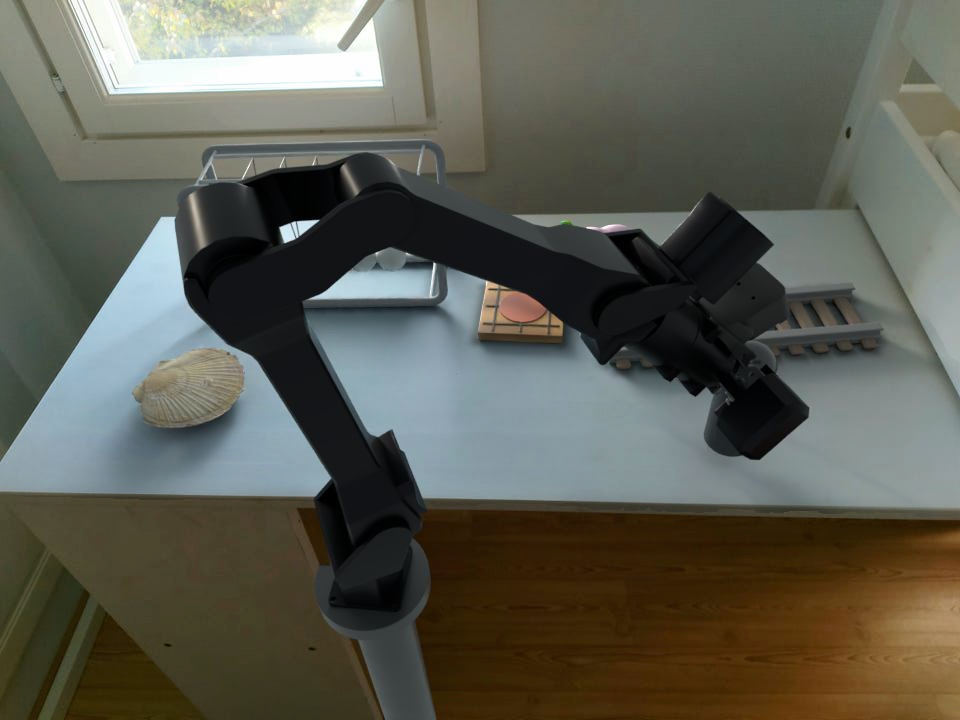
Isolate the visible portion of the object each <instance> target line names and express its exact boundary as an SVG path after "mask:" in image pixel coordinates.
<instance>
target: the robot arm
mask: <svg viewBox="0 0 960 720" xmlns="http://www.w3.org/2000/svg"><path fill="white" fill-rule="evenodd" d="M362 152H363V153H357V154H353V155H349V156H348V155H347V156H348V157H347V156H346V157H343V158H340V159H337V160H335V161H332V162H330V163H325V164H318V165H317V164H315V165H313V164H312V165H303V166H301V165H300V166H289V167H288V166H287V168H286V167H280V168H279V167H277V168H272V169H269V170H266V171H263V172H260V173H258V174H256V175H255V174H254V175H252V176H250V177H247V178H243V179H244V180H242V181H239V182H234V183H228V182H219V183H214V184H210V185H209V184H205V185H206V186H203V187H201V188H200V189H198V190H196V191H194V192H193V193H191V194H190V195H189V196H188V197H187V198H186V199H185V200H184V202H183V203H182V204H181V205H180V207H178V209H177V213H176V215H175V217H174V220H173V221H174V230H175V238H176V245H177V253H178V260H179V265H180V273H181V280H182V286H183V293H184V297H185V299H186V303H187V304H188V306H189V308H190V309H191V310H192V311H193V312H194V313H195V315H197V316H198V317H199V318H200V319H201V320H202V321H203V323H205V324H206V326H208V327H209V329H211V330H212V331H213V332H214V333H215V334H216V336H218V337H219V338H220V339H221V340H222V341H223V342H224V343H225V344H226V345H228V346H229V347H231V348H234V349H236V350H237V351H240V352H243V353H244V354H246V355H249V356H251V358H253V359H254V360H255V361H256V362H257V364H258V365H259V368H261V370H262V371H263V373H264V375H265V376H266V378H267V379H268V381H269V383H270V384H271V386H272V387H273V390H274V391H275V393H276V394H277V395H278V397H279V398H280V400H281V402H282V404H283V405H284V407H285V408H286V410H287V411H288V413H289V415H290V416H291V418H292V419H293V421H294V422H295V423H296V425H297V427H298V429H299V430H300V432H301V433H302V435H303V436H304V438H305V439H306V441H307V442H308V444H309V446H310V447H311V449H312V450H313V452H314V453H315V455H316V457H317V458H318V460H319V461H320V463H321V464H322V466H323V467H324V470H325V471H326V472H327V474H328V476H329V477H330V479H329V480H328V482H327V483H326V484H325V485H324V486H323V487H321V489H320V490H319V491H318V493H317V494H316V495H315V496H314V497H313V503H314V506H315V511H316V514H317V517H318V523H319V525H320V529H321V533H322V537H323V541H324V544H325V548H326V551H327V556H328V559H329V563H330V564H331V568H332V571H333V575H334V580H333V583H332V587H331V591H330V594H329V598H328V602H329V605H330V606H332V607H341V608H352V609H364V610H376V611H387V612H398V611H399V610H400V609H401V606H402V601H403V596H404V591H405V587H406V582H407V577H408V572H409V567H410V562H411V557H412V547H411V546H410V543H411V540H412V538H413V537H414V536H415V535H416V534H417V533H420V531H421V530H422V529H423V521H422V515H424V514H425V515H426V514H427V513H428V512H429V511H428V508H427V505H426V503H425V500H424V498H423V496H422V493H421V490H420V487H419V486H418V483H417V481H416V478H415V476H414V473H413V471H412V468H411V465H410V462H409V460H408V457H407V455H406V452H405V451H403V450H402V449H401V448H400V445H399V442H398V440H397V438H396V434H395V432H394V430H393V428H392V429H391V428H390V429H389V430H387V431H385V432H384V433H383V434H381V435H379V436H376V435H373V434H371V433H370V432H369V431H368V430H367V428H366V425H364V423H363V421H362V419H361V417H360V415H359V413H358V411H357V409H356V407H355V405H354V404H353V402H352V400H351V397H350V396H349V394H348V392H347V391H346V388H345V387H344V385H343V383H342V380H341V379H340V377H339V375H338V373H337V372H336V369H335V367H334V366H333V364H332V362H331V361H330V358H329V357H328V355H327V352H326V351H325V349H324V347H323V345H322V343H321V342H320V339H319V337H318V336H317V334H316V332H315V330H314V328H313V327H312V324H311V323H310V322H311V321H309V319H308V316H307V315H306V311H305V308H304V307H303V303H302V301H305V300H307V299H313V298H315V297H317V296H320V295H322V294H324V293H326V292H327V291H328V290H329V289H331V287H332V286H334V285H335V284H336V283H337V282H338V281H339V280H341V279H342V278H343V277H344V276H345V275H346V274H347V273H349V272H350V271H351V270H353V267H355V266H356V265H357V264H358V263H359V262H360V261H362V260H363V259H364V258H365V257H367V256H369V255H372V254H374V253H376V254H377V253H378V252H379V251H382V250H384V249H387V248H390V247H391V248H393V249H396V250H399V251H402V252H405V253H406V254H411V255H414V256H417V257H419V258H422V259H425V260H428V261H431V263H433V264H434V263H437V264H440V265H443V266H445V267H446V268H448V269H452V270H455V271H457V272H460V273H463V274H466V275H468V276H472V277H475V278H477V279H480V280H483V281H486V282H487V281H489V282H492V283H495V284H497V285H500V286H503V287H506V288H509V289H512V290H515V291H518V292H521V293H523V294H526V295H528V296H529V297H531V298H533V299H534V300H536V301H537V302H539V303H540V304H541V305H542V306H544V307H545V308H546V309H547V310H548V311H550V312H551V313H552V314H553V315H554V316H556V317H557V318H558V319H559V320H560V321H562V322H563V325H566V326H568V327H569V328H571V329H573V330H575V331H576V332H578V333H579V334H580V335H579V337H580V340H581V341H582V342H583V344H584V345H585V346H586V348H587V349H588V350H589V352H590V354H591V355H592V356H593V358H594V359H595V360H596V362H597V363H598V365H600V366H605V365H607V364H609V363H608V362H609V361H610V360H611V359H612V358H613V357H614V356H615V354H616V353H617V352H618V351H619V350H620V349H621V348H623V347H625V348H627V349H628V350H630V351H632V352H633V353H635V354H637V355H639V356H640V357H642V358H644V359H645V360H647V361H648V362H650V363H652V365H653V366H654V367H653V368H654V369H655V370H656V371H657V372H658V374H659V375H660V376H661V377H662V379H663V380H665V381H666V382H668V383H672V382H673V381H674V380H675V379H677V380H678V382H679V383H680V384H681V385H682V387H684V389H685V390H686V391H687V393H688V394H690V395H691V396H692V397H695V398H697V397H698V396H699V395H700V394H701V393H702V392H703V391H704V390H705V389H707V390H708V391H709V392H710V394H711V395H712V396H713V395H718V394H719V393H720V392H721V391H722V389H723V387H722V386H720V384H719V383H721V384H722V385H723V386H724V388H725V389H726V390H727V391H725V393H726V394H727V395H728V397H729V398H727V399H726V401H725V402H724V403H723V404H722V405H721V406H720V407H719V408H718V409H716V410H715V411H714V413H715V414H716V416H717V417H718V420H717V423H716V426H717V427H718V428H719V429H720V431H721V432H722V433H723V434H724V435H725V437H726V438H727V439H728V440H729V442H730V443H731V444H732V445H733V446H734V448H735V449H736V450H737V451H738V453H739V454H740V455H742V456H743V457H744V458H746V459H748V460H751V461H760V460H762V459H763V458H764V457H766V456H767V455H768V454H769V453H770V452H771V451H772V450H773V449H775V447H777V446H778V445H779V444H780V443H781V442H782V441H784V440H785V439H786V438H787V437H788V436H789V435H790V434H792V432H794V431H795V430H796V429H797V428H799V427H800V426H801V425H802V424H803V423H804V422H806V421H807V420H808V419H809V417H810V406H809V405H808V404H807V403H806V402H805V401H804V400H803V399H802V398H801V397H800V396H799V395H798V394H797V393H796V392H795V391H794V390H793V389H792V388H791V387H790V386H789V385H788V384H787V383H786V382H785V381H784V380H783V379H782V378H781V377H780V376H779V375H778V373H777V374H776V373H775V372H774V371H773V370H772V369H771V368H770V367H769V366H768V365H767V364H765V365H764V366H763V367H762V368H761V369H760V370H759V369H758V368H756V367H749V368H746V367H745V366H744V365H743V364H742V363H741V362H740V361H742V360H743V359H744V358H745V357H746V356H747V355H748V354H749V353H750V352H752V350H751V349H750V348H749V347H748V346H747V345H746V344H745V343H746V342H747V341H751V340H753V339H755V338H757V337H758V336H760V335H761V334H763V333H764V332H766V331H767V330H768V331H770V330H771V329H772V328H774V327H776V325H777V324H781V323H782V322H784V321H785V320H788V319H789V317H790V316H791V309H790V308H789V304H788V300H787V295H786V291H785V288H786V287H785V285H784V284H783V283H782V282H781V281H780V280H778V279H777V277H775V276H774V275H773V274H772V273H771V272H770V271H768V270H767V269H766V268H765V267H764V266H763V265H762V264H760V263H759V261H760V260H761V259H762V258H763V257H764V256H765V255H766V254H767V253H768V252H769V251H770V250H771V249H772V248H773V246H775V243H774V242H773V241H771V239H770V238H769V237H768V236H766V234H764V233H763V232H762V231H761V230H760V229H759V228H757V227H756V226H755V225H754V224H752V222H750V221H749V220H748V219H746V217H744V216H743V215H742V214H741V213H740V212H739V211H737V210H736V209H735V208H734V207H733V206H731V205H730V204H729V203H728V202H727V201H725V200H724V199H723V198H722V197H720V196H718V195H716V193H714V192H713V191H708V192H707V193H706V194H705V195H704V196H703V197H701V199H700V200H699V201H698V202H697V204H696V205H695V206H694V208H693V209H692V210H691V212H690V213H689V215H688V216H687V217H686V218H685V219H684V220H683V221H682V222H681V223H680V224H679V225H678V226H677V227H676V228H675V229H674V230H673V231H672V232H671V234H669V235H668V237H667V238H666V239H665V240H664V241H663V242H662V243H661V244H660V245H659V244H658V243H657V242H655V241H654V240H653V239H652V238H651V237H650V236H649V235H648V234H647V233H646V232H645V231H644V230H643V229H642V228H630V229H631V230H624V231H616V232H608V233H603V232H601V231H597V230H593V229H589V228H587V227H583V226H579V225H574V224H573V225H569V224H561V223H560V224H557V225H552V226H545V225H539V224H535V223H532V222H530V221H527V220H525V219H522V218H520V217H518V216H515V215H513V214H510V213H508V212H506V211H504V210H501V209H498V208H496V207H495V206H492V205H489V204H487V203H485V202H483V201H480V200H477V199H475V198H474V197H470V196H468V195H466V194H464V193H461V192H459V191H456V190H454V189H451V188H450V187H448V186H447V187H445V186H442V185H440V184H438V182H435V181H432V180H430V179H428V178H427V177H423V176H421V175H420V176H419V175H417V173H414V172H412V171H409V170H407V169H405V168H402V167H400V166H398V165H397V164H395V163H394V162H393V161H392V160H390V158H388V157H386V156H384V155H383V154H382V155H378V154H375V153H370V152H365V151H362ZM310 221H313V222H314V221H316V222H315V223H314V224H313V225H311V226H310V227H309V228H308V229H307V230H305V231H304V232H303V233H301V234H299V237H296V239H295V238H294V239H291V240H289V241H286V242H285V240H284V237H283V233H282V231H281V228H282V227H284V226H288V225H291V224H290V223H292V224H293V223H296V222H297V223H298V222H310ZM732 369H733V370H732ZM731 371H732V372H734V373H735V375H736V376H738V378H739V379H738V380H737V379H736V378H735V377H734V376H733V375H732V373H731ZM742 456H741V457H742ZM408 550H409V551H408ZM333 599H337V600H336V601H335V602H332V600H333ZM394 604H398V606H397V607H393V605H394Z"/></svg>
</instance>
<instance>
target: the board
mask: <svg viewBox="0 0 960 720" xmlns="http://www.w3.org/2000/svg"><path fill="white" fill-rule="evenodd" d="M477 329H478V330H477V338H478V339H477V340H479V341H496V342H499V341H500V342H501V341H502V342H522V343H541V344H544V343H545V344H563V337H564V323H563V322H562V321H560V320H559V319H558V318H557V317H556V316H554V315H553V314H552V313H551V312H550V311H548V310H547V309H546V308H545V307H544V306H542V305H541V304H540V303H539V302H537V301H536V300H534V299H533V298H531V297H529V296H528V295H526V294H523V293H521V292H518V291H515V290H512V289H509V288H506V287H503V286H500V285H497V284H495V283H492V282H489V281H486V284H485V290H484V295H483V301H482V307H481V313H480V318H479V324H478V328H477Z"/></svg>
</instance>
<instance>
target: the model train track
mask: <svg viewBox="0 0 960 720" xmlns="http://www.w3.org/2000/svg"><path fill="white" fill-rule="evenodd" d="M855 290H856V287H855V285H854V284H853V282H851V281H850V282H840V283H839V282H837V283H827V284H826V283H825V284H817V285H816V284H815V285H814V284H813V285H802V286H789V287H785V291H786V295H787V300H788V304H789V309H790V312H791V313H792V315H793V316H794V319H796V321H797V323H798V325H799V326H800V328H793V327H792V326H791V324H790V322H789V320H788V319H787V320H785V321H784V322H782V323H781V324H777V325H775V328H776V330H767V331H766V332H764V333H763V334H761V335H760V336H758V337H757V338H755V339H753V340H756V341H759V342H762V343H764V344H766V345H767V346H768V347H769V348H770V349H771V350H772V351H773V352H774V354H775V356H776V357H778V356H780V355H781V352H780V350H788V351H789V353H790V354H791V355H792V356H800V355H803V354H804V353H805V352H806V349H804V348H812V349H813V350H814V352H815V354H822V353H823V354H825V353H828V352H829V351H830V348H829V347H828V346H834V345H835V346H837V348H838V349H839V351H840V352H848V351H853V350H852V349H854V346H853V344H860V343H861V346H862V347H863V349H865V350H871V349H872V350H873V349H876V348H877V347H878V346H879V344H878V343H877V342H879V340H880V339H881V331H884V327H883V325H882V324H881V322H879V321H875V322H863V320H862V319H861V317H860V316H859V314H858V313H857V311H856V310H855V308H854V307H853V305H852V304H851V302H850V301H851V300H852V298H853V291H855ZM827 303H835V305H836V307H837V309H838V310H839V312H840V313H841V314H842V316H843V317H844V319H845V321H846V322H847V324H840V323H839V322H838V321H837V319H836V317H835V316H834V314H833V313H832V311H831V310H830V308H829V306H828V305H827ZM804 305H811V306H812V308H813V310H814V311H815V313H816V314H817V316H818V317H819V319H820V321H821V322H822V324H823V326H816V325H815V323H814V322H813V320H812V319H811V317H810V315H809V313H808V312H807V310H806V308H805V307H804ZM634 362H640V364H641V366H642V367H643V368H655V367H654V366H653V365H652V363H650V362H648V361H647V360H645V359H644V358H642V357H640V356H639V355H637V354H635V353H633V352H632V351H630V350H628V349H627V348H625V347H623V348H621V349H620V350H619V351H618V352H617V353H616V354H615V356H614V357H613V358H612V359H611V360H610V361H609V362H608V363H607V364H615V365H616V368H617V369H618V370H620V371H621V370H629V369H630V368H632V363H634Z"/></svg>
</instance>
